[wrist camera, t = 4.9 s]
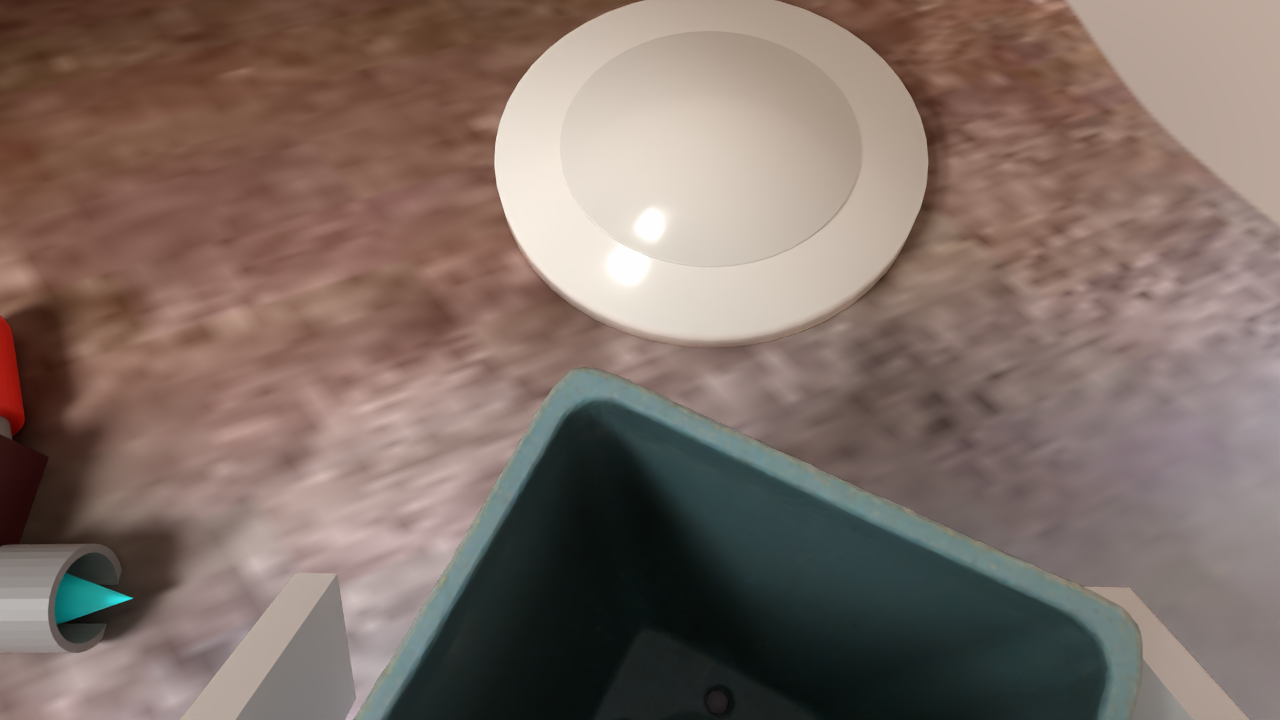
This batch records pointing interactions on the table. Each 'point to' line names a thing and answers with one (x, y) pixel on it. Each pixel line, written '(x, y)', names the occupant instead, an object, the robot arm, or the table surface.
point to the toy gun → (41, 548)
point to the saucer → (710, 169)
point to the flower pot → (734, 592)
